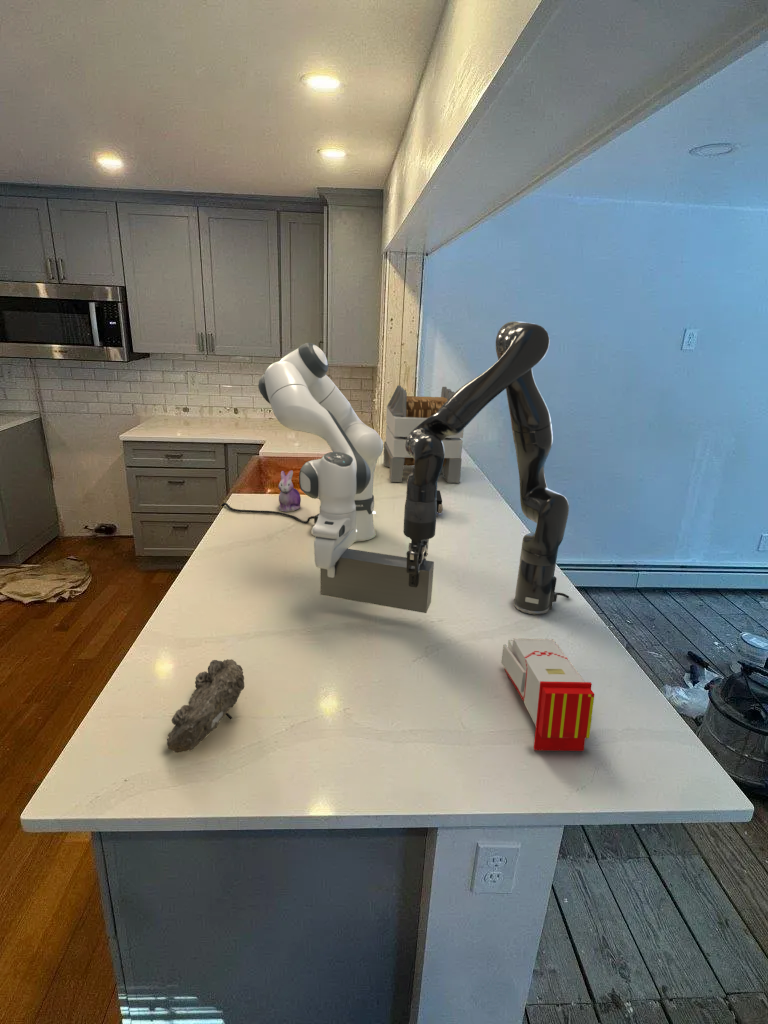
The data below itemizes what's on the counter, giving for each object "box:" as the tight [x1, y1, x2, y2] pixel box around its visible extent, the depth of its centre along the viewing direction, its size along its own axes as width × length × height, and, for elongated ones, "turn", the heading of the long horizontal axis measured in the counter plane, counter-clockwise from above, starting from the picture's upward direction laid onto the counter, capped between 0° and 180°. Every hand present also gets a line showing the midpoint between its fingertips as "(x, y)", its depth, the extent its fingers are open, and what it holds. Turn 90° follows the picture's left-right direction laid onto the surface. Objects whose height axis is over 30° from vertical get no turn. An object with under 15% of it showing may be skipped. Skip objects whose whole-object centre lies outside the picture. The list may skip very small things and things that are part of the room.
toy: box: [500, 637, 595, 752], centre depth 114 cm, size 12×13×30 cm
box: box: [319, 548, 435, 614], centre depth 141 cm, size 28×6×11 cm, turn 74°
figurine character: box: [436, 489, 443, 518], centre depth 221 cm, size 7×8×15 cm
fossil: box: [166, 658, 245, 754], centre depth 106 cm, size 22×10×15 cm
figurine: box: [278, 469, 302, 513], centre depth 217 cm, size 9×10×15 cm
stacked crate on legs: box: [383, 384, 465, 484], centre depth 268 cm, size 34×33×41 cm
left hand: (336, 570), depth 143 cm, fingers closed on box, 6 cm apart
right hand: (416, 580), depth 138 cm, fingers closed on box, 5 cm apart
